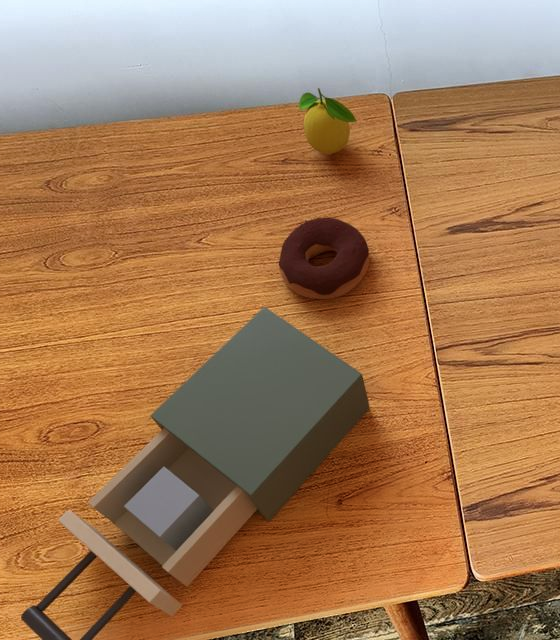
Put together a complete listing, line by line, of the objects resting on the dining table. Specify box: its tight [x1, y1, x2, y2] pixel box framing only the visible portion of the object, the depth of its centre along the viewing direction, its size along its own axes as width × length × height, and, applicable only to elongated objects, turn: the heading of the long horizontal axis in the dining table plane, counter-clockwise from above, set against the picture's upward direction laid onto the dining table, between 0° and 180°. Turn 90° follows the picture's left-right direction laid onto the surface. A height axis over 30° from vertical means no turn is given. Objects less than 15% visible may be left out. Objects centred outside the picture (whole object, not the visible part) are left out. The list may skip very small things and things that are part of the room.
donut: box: [278, 216, 370, 300], centre depth 85 cm, size 10×10×4 cm
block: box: [124, 467, 213, 551], centre depth 67 cm, size 4×4×4 cm
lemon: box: [297, 87, 358, 155], centre depth 92 cm, size 7×6×10 cm
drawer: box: [20, 428, 257, 640], centre depth 66 cm, size 21×11×6 cm, turn 144°
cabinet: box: [150, 306, 371, 522], centre depth 73 cm, size 15×13×8 cm
